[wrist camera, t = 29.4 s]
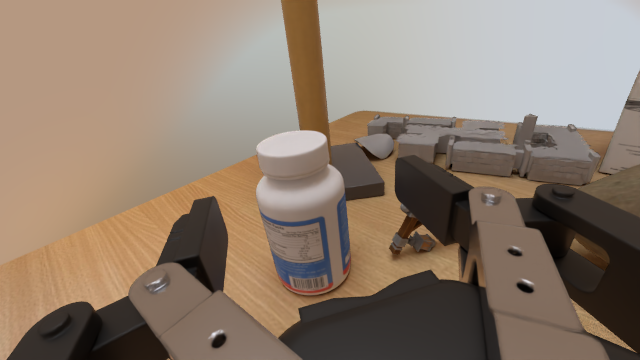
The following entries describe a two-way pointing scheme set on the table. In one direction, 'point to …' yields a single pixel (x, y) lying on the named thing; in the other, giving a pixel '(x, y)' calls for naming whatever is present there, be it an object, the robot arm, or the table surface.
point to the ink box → (625, 136)
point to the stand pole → (307, 65)
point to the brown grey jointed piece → (404, 232)
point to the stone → (614, 199)
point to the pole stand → (356, 172)
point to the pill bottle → (304, 211)
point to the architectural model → (488, 147)
